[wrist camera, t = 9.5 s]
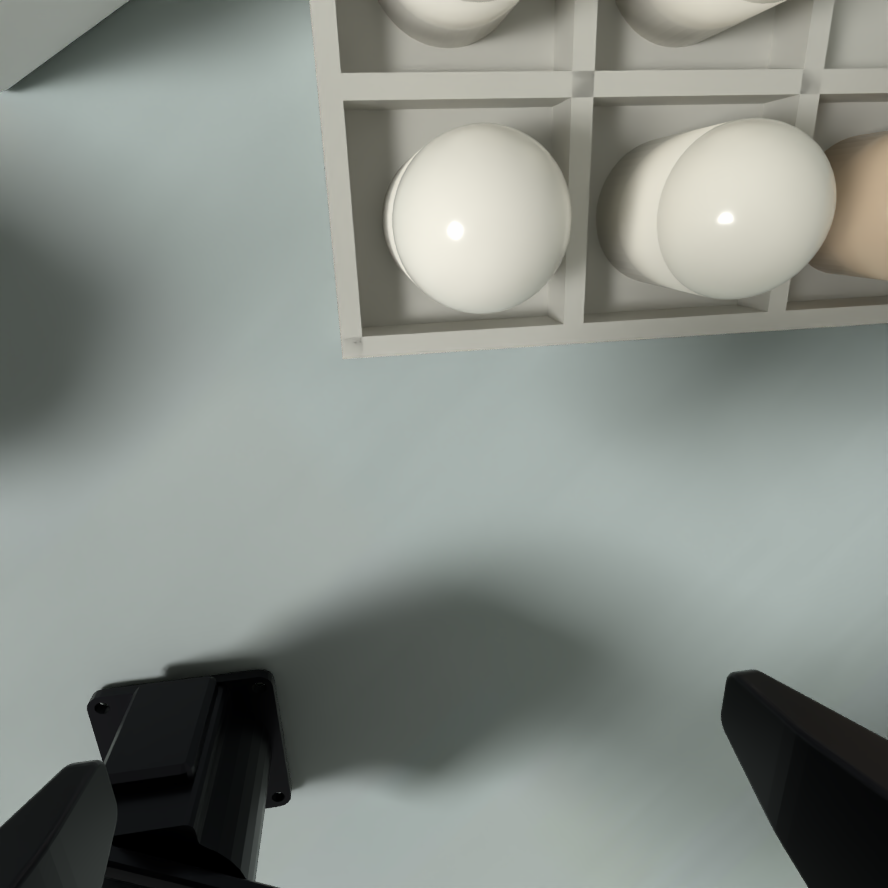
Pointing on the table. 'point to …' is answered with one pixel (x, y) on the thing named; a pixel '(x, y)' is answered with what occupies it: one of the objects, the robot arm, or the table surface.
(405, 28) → the egg
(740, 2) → the egg
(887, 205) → the brown egg
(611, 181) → the egg
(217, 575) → the table surface
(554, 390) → the table surface
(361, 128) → the carton
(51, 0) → the medicine bottle
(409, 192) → the egg
